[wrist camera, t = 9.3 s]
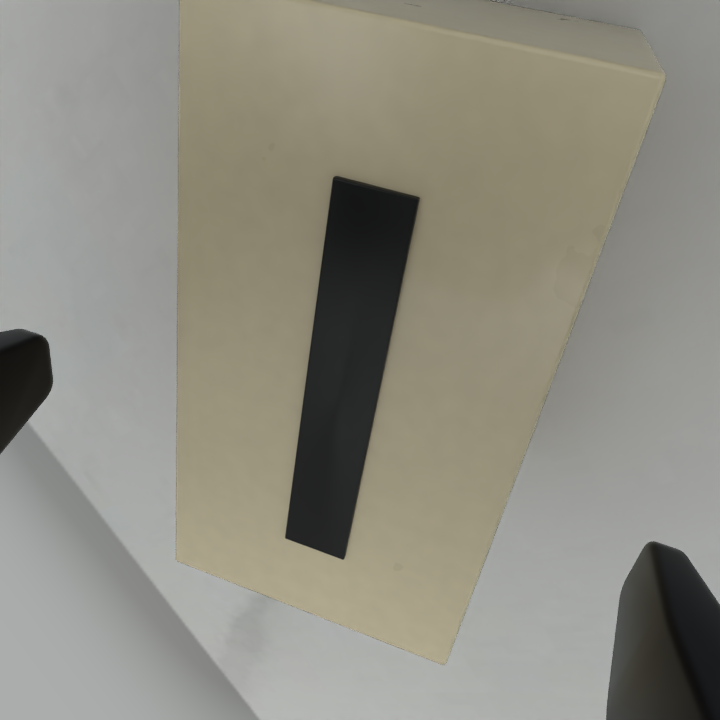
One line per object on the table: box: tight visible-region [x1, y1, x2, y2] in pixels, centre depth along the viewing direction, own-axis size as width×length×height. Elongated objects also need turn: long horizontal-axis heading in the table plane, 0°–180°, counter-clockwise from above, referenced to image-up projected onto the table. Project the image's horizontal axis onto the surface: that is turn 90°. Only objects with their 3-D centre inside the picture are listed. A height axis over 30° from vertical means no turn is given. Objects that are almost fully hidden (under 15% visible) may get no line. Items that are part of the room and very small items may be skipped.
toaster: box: [176, 0, 666, 665], centre depth 14 cm, size 6×11×7 cm, turn 171°
